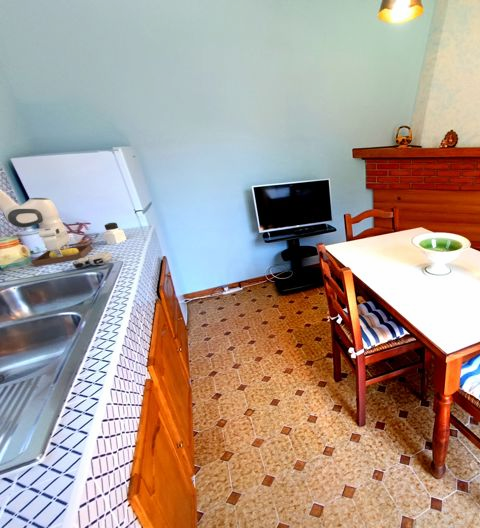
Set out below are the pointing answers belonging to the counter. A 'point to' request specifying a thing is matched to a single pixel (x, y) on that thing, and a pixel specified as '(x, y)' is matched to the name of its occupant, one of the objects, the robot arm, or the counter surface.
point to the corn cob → (64, 252)
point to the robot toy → (92, 260)
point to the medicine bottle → (113, 234)
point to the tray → (47, 260)
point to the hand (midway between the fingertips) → (64, 254)
